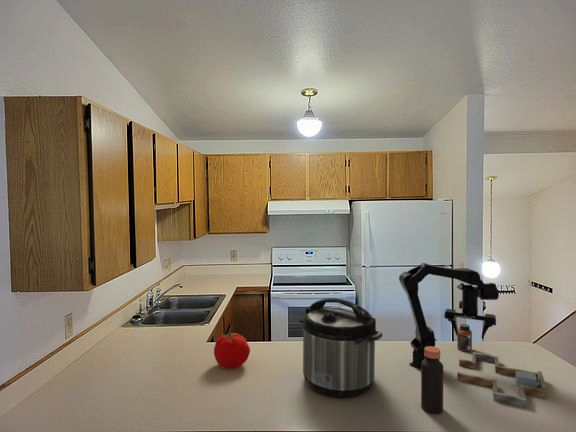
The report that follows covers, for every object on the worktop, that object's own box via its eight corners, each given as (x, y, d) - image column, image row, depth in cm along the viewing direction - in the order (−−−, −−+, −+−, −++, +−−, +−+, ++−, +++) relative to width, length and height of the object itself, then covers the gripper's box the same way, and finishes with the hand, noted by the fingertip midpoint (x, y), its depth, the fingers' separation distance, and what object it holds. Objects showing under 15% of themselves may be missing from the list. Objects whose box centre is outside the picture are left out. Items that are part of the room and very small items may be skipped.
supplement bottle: (473, 352, 160) (473, 327, 159) (459, 351, 161) (459, 327, 160) (469, 347, 166) (469, 323, 165) (455, 346, 167) (456, 322, 166)
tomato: (207, 370, 146) (207, 337, 146) (225, 356, 159) (225, 326, 159) (241, 376, 141) (240, 342, 140) (257, 361, 153) (256, 330, 153)
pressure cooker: (395, 393, 127) (395, 305, 126) (323, 410, 117) (323, 315, 116) (352, 358, 155) (351, 286, 154) (291, 370, 146) (290, 293, 144)
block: (516, 387, 131) (517, 376, 131) (515, 380, 135) (515, 370, 135) (536, 390, 128) (536, 379, 128) (534, 384, 132) (534, 373, 132)
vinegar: (441, 417, 113) (441, 355, 112) (419, 410, 117) (419, 350, 116) (444, 406, 119) (445, 347, 118) (423, 400, 122) (423, 343, 121)
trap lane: (455, 391, 127) (455, 382, 127) (460, 355, 157) (460, 347, 157) (551, 413, 114) (551, 402, 114) (537, 369, 143) (537, 360, 143)
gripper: (495, 297, 149) (495, 334, 149) (447, 292, 158) (446, 327, 158) (496, 304, 139) (495, 344, 140) (444, 298, 148) (444, 335, 149)
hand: (469, 337), depth 147 cm, fingers open, 9 cm apart
